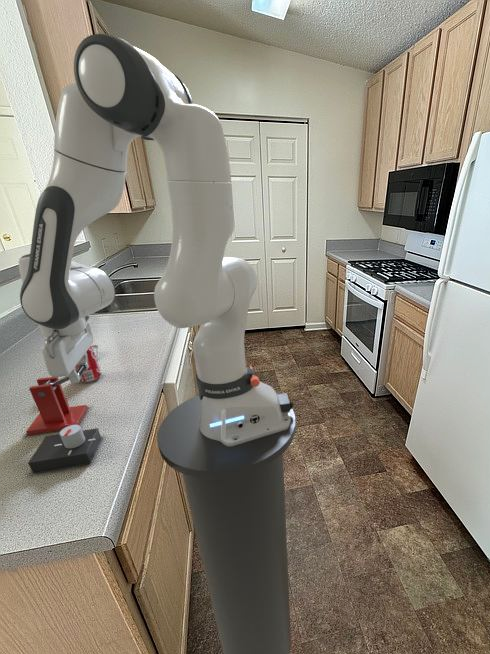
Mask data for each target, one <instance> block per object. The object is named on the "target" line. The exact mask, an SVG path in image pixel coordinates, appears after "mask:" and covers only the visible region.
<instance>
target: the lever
mask: <svg viewBox="0 0 490 654" xmlns="http://www.w3.org/2000/svg"><path fill="white" fill-rule="evenodd" d="M85 369H86V367H85V366H84V365H81V366H80V367H79V368H78V369H77V371H76V372H77V374H78V373H79V375H80V376H81V375H82V373H83V372H84V371H85ZM58 379H59V380H57V381H55V382H53V383H52V382H51V381H50V380H49V381H47V382H45V383H43V384H41V385H47V384H52V387H53V389H54V390H55V389H56V386H58V385H60V384H61V385H62V384H65V383H66V382H69V381H70V379H69V377H68V376H62V377H60V378H58Z"/></svg>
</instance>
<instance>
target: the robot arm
mask: <svg viewBox="0 0 490 654" xmlns="http://www.w3.org/2000/svg"><path fill="white" fill-rule="evenodd" d="M73 75H74V80H75V82H71V83H68V84H67V85H65V86H64V87H63V89H62V90H61V93H60V97H59V101H58V106H57V111H56V117H55V125H54V136H53V141H54V142H53V143H54V144H53V161H52V168H51V173H50V176H49V180H48V182H47V184H46V187H45V188H44V190H43V191H42V192H41V193H40V195H39V198H38V200H37V204H36V208H35V212H34V214H35V215H34V220H33V227H32V236H31V243H30V244H31V245H30V253H27V254H24V255H22V256H21V257H20V258H19V259H18V270H19V275H20V279H21V282H22V285H21V287H20V293H19V301H20V306H21V308H22V311H23V312H24V314H25V315H26V316H27V317H28V318H29V319H30V320H31V321H33V322H34V323H36V324H38V325H37V326H38V327H39V330H40V332H41V335H42V336H43V337H45V342H44V343H43V345H42V349H41V350H42V356H43V360H44V364H45V367H46V370H47V373H48V374H49V376H50V377H58V378H63V377H65V376H68V377H69V379H70V380H69V381H70V383H71V384H78V383H80V379H81V377H80V375H79V373H78V374H77V372H76V371H75V370H76V368H75V366H76V365H77V364H78V363H79V364H78V367H80V366H81V365H84V366H85V367H86V369H85V371H86V370H87V369H88V367H89V366H88V363H87V350H88V349H89V348H90V346H93V344H94V335H93V331H92V326H91V323H90V321H89V320H90V318H91V317H90V315H93V314H95V313H96V312H98V311H100V310H103V309H104V308H106V307H108V306H109V305H111V304H113V302H114V301H115V298H116V287H115V284H114V282H113V280H112V278H111V277H110V275H109V274H107V273H106V272H105V270H103V269H101V268H99V267H98V266H90V265H87V264H83V263H79V262H76V261H74V260H73V256H74V249H75V244H76V241H77V239H78V237H79V236H80V234H81V233H82V232H83V230H85V229H86V228H87V227H88V226H89V225H91V224H92V223H93V222H95V221H96V220H98V219H100V218H101V217H103V216H105V215H107V214H110V213H111V212H112V211H114V210H115V209H116V208H117V207H118V206H119V204H120V202H121V200H122V198H123V195H124V191H125V188H126V187H125V186H126V177H127V165H128V164H127V163H128V153H129V148H130V145H131V143H132V142H133V141H134V140H135V139H137V138H141V139H142V140H144V141H154V142H156V144H157V145H158V147H159V149H160V151H161V153H162V156H163V161H164V167H165V175H166V181H167V189H168V196H169V205H170V213H171V223H172V237H171V238H172V239H171V246H170V252H169V257H168V261H167V264H166V267H165V270H164V272H163V274H162V276H161V277H160V279H159V280H158V281H157V283H156V284H155V287H154V290H153V291H154V292H153V300H154V305H155V308H156V310H157V311H158V313H159V315H160V316H161V317H162V319H163V320H164V321H165V322H167V323H168V324H170V325H171V326H173V327H175V328H177V329H187V328H194V327H197V326H199V329H198V331H197V333H196V335H195V336H194V339H193V343H192V351H193V357H194V363H195V369H196V374H195V384H196V390H197V391H196V392H197V395H199V398H200V400H201V417H200V423H199V429H200V431H201V433H202V434H203V435H204V436H206V437H208V438H210V439H213V440H217V441H220V442H222V443H223V444H224V445H226V446H229V447H231V446H235V445H238V444H241V443H245V442H248V441H251V440H254V439H258V438H261V437H264V436H267V435H271V434H274V433H277V432H280V431H283V430H286V429H288V427H289V426H290V422H291V418H290V412H289V411H290V410H291V409H293V408H294V403H293V402H292V401H291V400H290V399H289V396H288V393H287V392H285V393H277V392H276V391H275V389H274V388H273V387H272V386H271V385H269V384H267V383H264V382H262V381H260V379H259V377H258V376H257V375H256V371H255V370H254V369H253V367H252V365H249V367H248V366H247V362H246V348H245V347H246V346H245V334H246V333H245V332H246V325H247V319H248V313H249V310H250V309H249V308H250V304H251V300H252V298H253V296H254V293H255V291H256V290H257V285H258V277H257V273H256V271H255V269H254V267H253V265H251V263H249V262H248V261H247V260H245V259H243V258H242V257H241V258H240V257H234V256H225V252H226V249H227V248H226V247H227V245H228V243H229V241H230V239H231V237H232V235H233V234H234V230H235V216H234V200H233V185H232V173H231V165H230V158H229V151H228V146H227V143H226V137H225V133H224V129H223V125H222V123H221V121H220V119H219V118H218V116H217V115H216V114H215V113H214V112H213V111H211V110H210V109H208V108H207V107H205V106H202V105H199V104H195V103H194V101H193V98H192V96H191V93H190V91H189V89H188V88H187V87H186V85H185V84H184V82H183V81H182V79H180V78H179V76H177V74H175V73H174V72H172V71H171V70H169V69H167V68H166V67H165V66H164V65H163V64H162V63H160V61H159V60H158V59H156V58H155V57H154V56H153V55H151V54H149V53H147V52H146V51H144V50H142V49H140V48H138V47H136V46H134V45H132V44H131V43H130V42H129V41H127V40H125V39H123V38H121V37H118V36H115V35H112V34H108V33H94V34H90V35H87V36H86V37H85V38H83V40H82V41H80V43H79V44H78V46H77V48H76V50H75V54H74V57H73Z"/></svg>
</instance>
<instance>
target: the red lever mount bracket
mask: <svg viewBox="0 0 490 654" xmlns="http://www.w3.org/2000/svg"><path fill="white" fill-rule="evenodd" d="M59 379H60V378H59V377H52V376H48V377H41V378H40V377H39V378H37V380H36V383H37V385H32V386H31V385H30V387H29V388H28V389H29V392H30V394H31V396H32V398H33V401H34V403H35V405H36V408H37V410H38V412H39V413H38V415H37V416H36V418H35V419H34V420H33V421H32V423H31V424H30V425H29V427H28V428H27V430H26V435H27V436H31V435H32V436H33V435H37V434H44V433H52V432H58V431H59V432H60V431H61V430H62V429H64V428H65V427H68V426H71V425H80V424H81V422H82V420H83V418H84V417H85V414H86V412H87V411H88V409H89V407H88V404H83V405H75V406H74V405H73V406H70V405H69V402H68V400H67V397H66V394H65V392H64V389H63V386H62V384H60V385H58V386H56V389H55V390H54V389H53V387H52V384H47V385H41V384H43V383H45V382H47V381H49V380H50V381H51V382H52V383H53V382H55V381H57V380H59Z"/></svg>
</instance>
